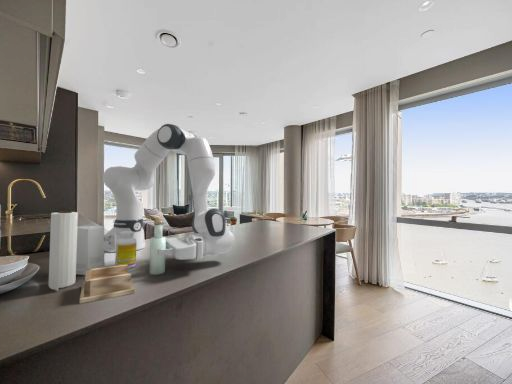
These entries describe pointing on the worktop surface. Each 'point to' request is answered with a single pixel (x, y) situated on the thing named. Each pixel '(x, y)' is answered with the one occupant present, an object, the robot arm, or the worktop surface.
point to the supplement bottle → (126, 249)
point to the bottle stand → (106, 283)
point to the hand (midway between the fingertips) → (155, 249)
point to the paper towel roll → (63, 249)
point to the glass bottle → (157, 243)
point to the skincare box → (89, 248)
